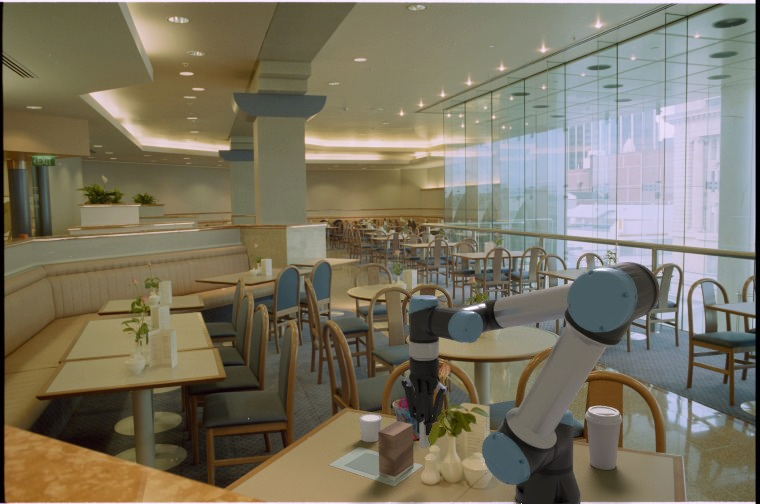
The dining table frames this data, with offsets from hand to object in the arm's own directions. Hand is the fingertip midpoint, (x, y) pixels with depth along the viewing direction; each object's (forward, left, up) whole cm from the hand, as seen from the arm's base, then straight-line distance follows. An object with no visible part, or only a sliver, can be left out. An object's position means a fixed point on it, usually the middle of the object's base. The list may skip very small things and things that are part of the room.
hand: (424, 446), depth 152 cm
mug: (+19, -23, -10) cm, 31 cm away
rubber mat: (+16, 0, -10) cm, 19 cm away
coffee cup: (-35, -35, -10) cm, 50 cm away
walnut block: (+9, 0, -9) cm, 13 cm away
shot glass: (+28, -14, -10) cm, 33 cm away
